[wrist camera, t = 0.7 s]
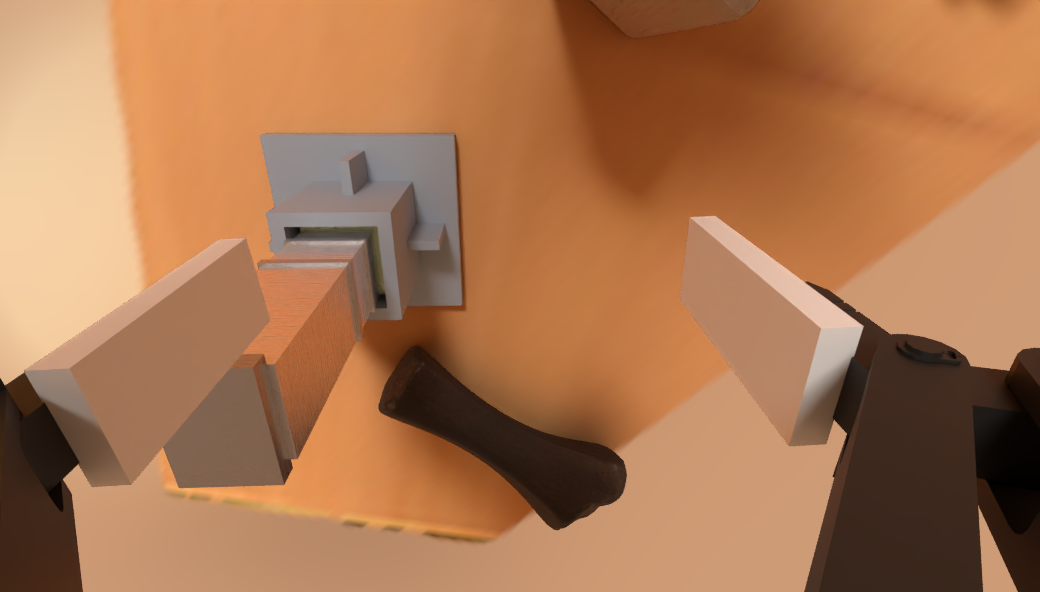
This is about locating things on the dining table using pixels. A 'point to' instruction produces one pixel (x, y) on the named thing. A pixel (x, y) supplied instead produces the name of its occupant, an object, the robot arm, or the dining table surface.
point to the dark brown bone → (505, 442)
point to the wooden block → (670, 14)
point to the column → (284, 362)
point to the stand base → (376, 205)
